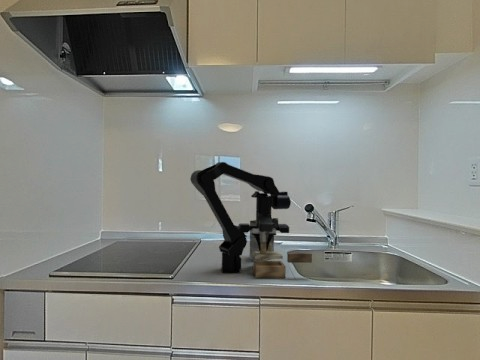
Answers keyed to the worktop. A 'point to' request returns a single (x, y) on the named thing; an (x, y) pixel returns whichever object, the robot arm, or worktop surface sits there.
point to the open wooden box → (269, 269)
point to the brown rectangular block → (299, 257)
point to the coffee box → (262, 239)
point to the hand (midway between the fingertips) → (262, 251)
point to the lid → (266, 253)
